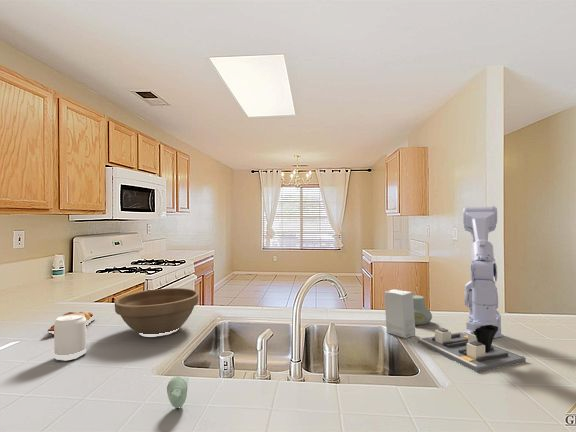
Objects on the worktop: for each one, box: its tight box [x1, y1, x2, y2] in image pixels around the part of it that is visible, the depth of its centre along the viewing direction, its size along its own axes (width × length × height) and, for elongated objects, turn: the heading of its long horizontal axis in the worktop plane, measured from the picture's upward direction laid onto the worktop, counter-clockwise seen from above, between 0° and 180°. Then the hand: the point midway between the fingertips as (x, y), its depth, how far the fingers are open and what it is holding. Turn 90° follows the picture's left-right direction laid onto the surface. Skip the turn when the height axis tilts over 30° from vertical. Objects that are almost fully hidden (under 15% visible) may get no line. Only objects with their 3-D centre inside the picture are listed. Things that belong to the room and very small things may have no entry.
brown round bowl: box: [114, 287, 199, 334], centre depth 122 cm, size 28×28×13 cm
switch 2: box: [467, 341, 485, 360], centre depth 93 cm, size 4×3×4 cm
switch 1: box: [434, 327, 452, 344], centre depth 104 cm, size 4×3×4 cm
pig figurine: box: [166, 375, 189, 409], centre depth 72 cm, size 8×4×7 cm, turn 2°
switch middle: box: [468, 332, 478, 343], centre depth 101 cm, size 4×3×4 cm
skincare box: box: [383, 288, 416, 339], centre depth 116 cm, size 8×6×15 cm
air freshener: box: [413, 294, 433, 326], centre depth 128 cm, size 11×8×10 cm
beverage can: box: [53, 314, 88, 355], centre depth 100 cm, size 8×8×12 cm
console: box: [417, 331, 527, 373], centre depth 100 cm, size 18×22×2 cm
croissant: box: [47, 311, 94, 332], centre depth 126 cm, size 21×10×8 cm, turn 170°
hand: (484, 351), depth 94 cm, fingers closed
